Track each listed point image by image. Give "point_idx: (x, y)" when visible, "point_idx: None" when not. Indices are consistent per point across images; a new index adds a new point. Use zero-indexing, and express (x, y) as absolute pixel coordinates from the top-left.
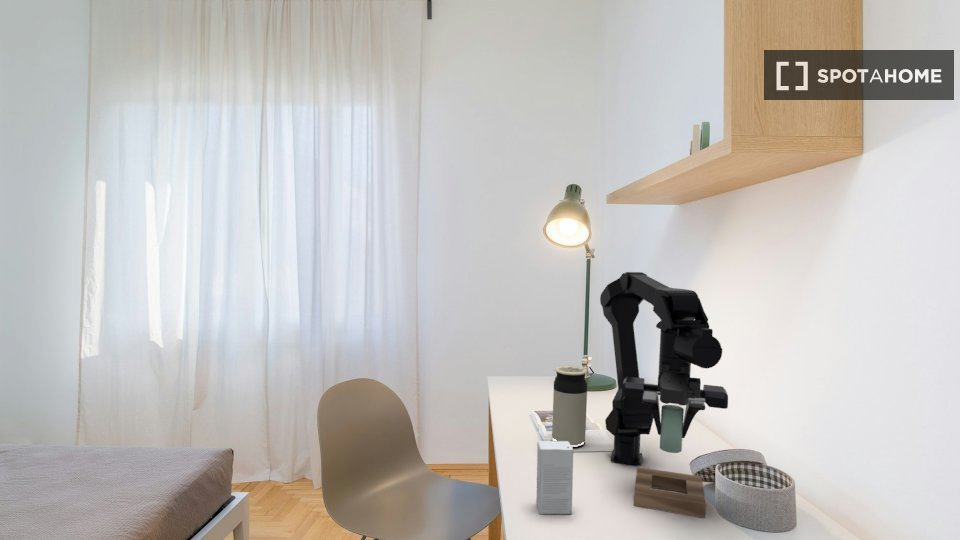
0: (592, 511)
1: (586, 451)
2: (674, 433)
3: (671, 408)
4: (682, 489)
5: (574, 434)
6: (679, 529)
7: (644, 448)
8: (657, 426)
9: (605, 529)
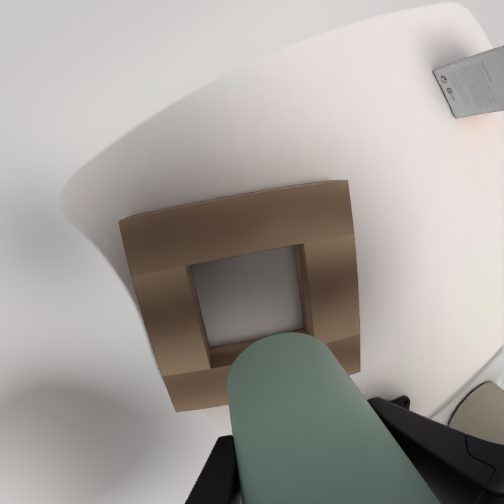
0: (406, 101)
1: (447, 402)
2: (286, 411)
3: None
4: (219, 350)
5: (485, 410)
6: (186, 106)
7: None
8: (410, 418)
9: (355, 31)
